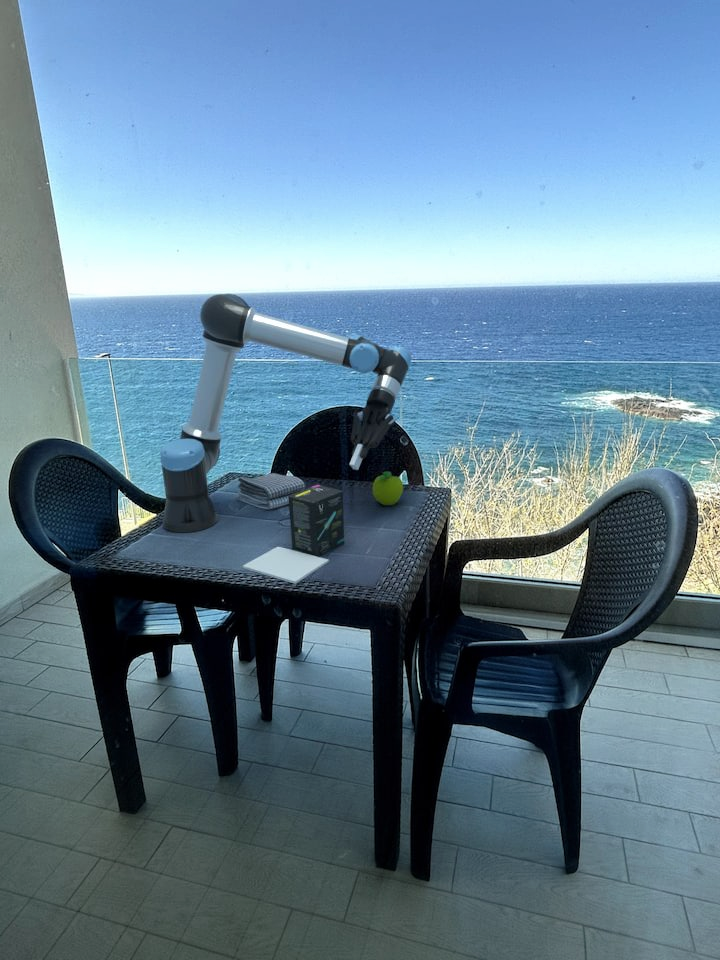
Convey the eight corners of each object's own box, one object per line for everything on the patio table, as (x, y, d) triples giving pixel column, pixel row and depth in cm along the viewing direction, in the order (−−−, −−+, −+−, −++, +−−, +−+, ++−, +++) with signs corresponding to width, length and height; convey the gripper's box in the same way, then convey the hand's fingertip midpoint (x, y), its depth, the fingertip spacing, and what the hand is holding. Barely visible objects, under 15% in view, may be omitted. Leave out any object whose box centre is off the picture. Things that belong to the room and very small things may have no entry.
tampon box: (319, 535, 158) (317, 483, 154) (345, 543, 153) (343, 490, 148) (290, 548, 150) (286, 494, 146) (316, 557, 144) (313, 501, 140)
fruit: (369, 508, 177) (368, 476, 174) (378, 498, 186) (377, 467, 183) (398, 510, 175) (398, 478, 172) (406, 500, 183) (406, 469, 180)
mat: (242, 568, 140) (242, 565, 140) (278, 548, 150) (277, 546, 150) (295, 583, 132) (295, 581, 131) (329, 562, 142) (328, 559, 142)
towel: (270, 513, 176) (268, 488, 174) (234, 500, 188) (232, 476, 186) (308, 500, 186) (306, 476, 184) (271, 488, 198) (270, 466, 196)
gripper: (408, 404, 166) (379, 477, 157) (368, 401, 172) (339, 470, 164) (399, 388, 160) (369, 463, 151) (358, 386, 166) (327, 457, 158)
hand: (353, 467), depth 158 cm, fingers closed
